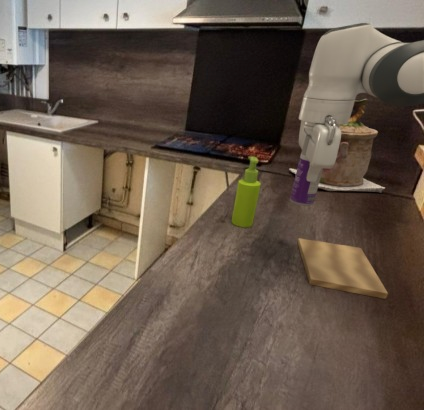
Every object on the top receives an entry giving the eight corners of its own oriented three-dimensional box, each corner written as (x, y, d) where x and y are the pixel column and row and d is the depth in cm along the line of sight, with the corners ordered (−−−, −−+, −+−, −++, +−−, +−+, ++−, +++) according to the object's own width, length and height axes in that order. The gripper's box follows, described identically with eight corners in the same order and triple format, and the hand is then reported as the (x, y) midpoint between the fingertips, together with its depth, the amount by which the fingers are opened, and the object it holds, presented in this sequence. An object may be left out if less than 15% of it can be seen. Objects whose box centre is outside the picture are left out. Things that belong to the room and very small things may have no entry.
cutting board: (359, 252, 92) (360, 247, 91) (385, 299, 75) (388, 293, 74) (297, 242, 97) (298, 238, 96) (309, 284, 80) (311, 278, 79)
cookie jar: (347, 172, 151) (371, 94, 138) (386, 194, 128) (419, 102, 116) (286, 171, 153) (304, 93, 140) (313, 192, 131) (338, 101, 118)
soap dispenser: (250, 218, 111) (263, 155, 103) (253, 228, 104) (267, 162, 96) (230, 216, 112) (241, 154, 104) (232, 226, 106) (244, 161, 98)
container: (284, 199, 82) (300, 134, 76) (299, 196, 84) (316, 133, 78) (302, 207, 78) (320, 139, 72) (318, 204, 80) (336, 137, 74)
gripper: (357, 122, 63) (335, 194, 69) (332, 106, 81) (316, 165, 86) (316, 120, 65) (298, 190, 71) (300, 105, 83) (287, 162, 88)
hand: (308, 176), depth 79 cm, fingers closed on container, 4 cm apart
